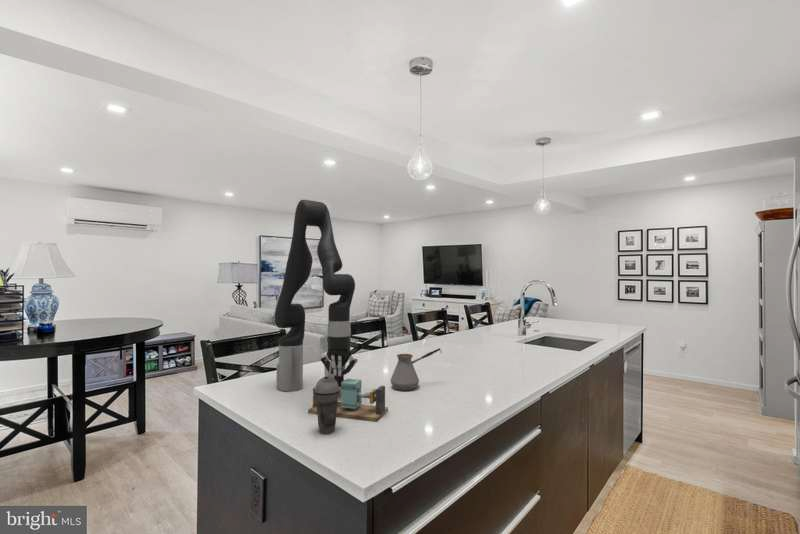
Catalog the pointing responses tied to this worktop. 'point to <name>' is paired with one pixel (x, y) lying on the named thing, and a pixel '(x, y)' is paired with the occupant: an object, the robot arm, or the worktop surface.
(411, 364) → the coffee pot
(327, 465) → the worktop surface
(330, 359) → the robot arm
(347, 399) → the sleeve
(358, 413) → the rail stand
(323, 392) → the beverage cup
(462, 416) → the worktop surface
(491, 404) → the worktop surface
